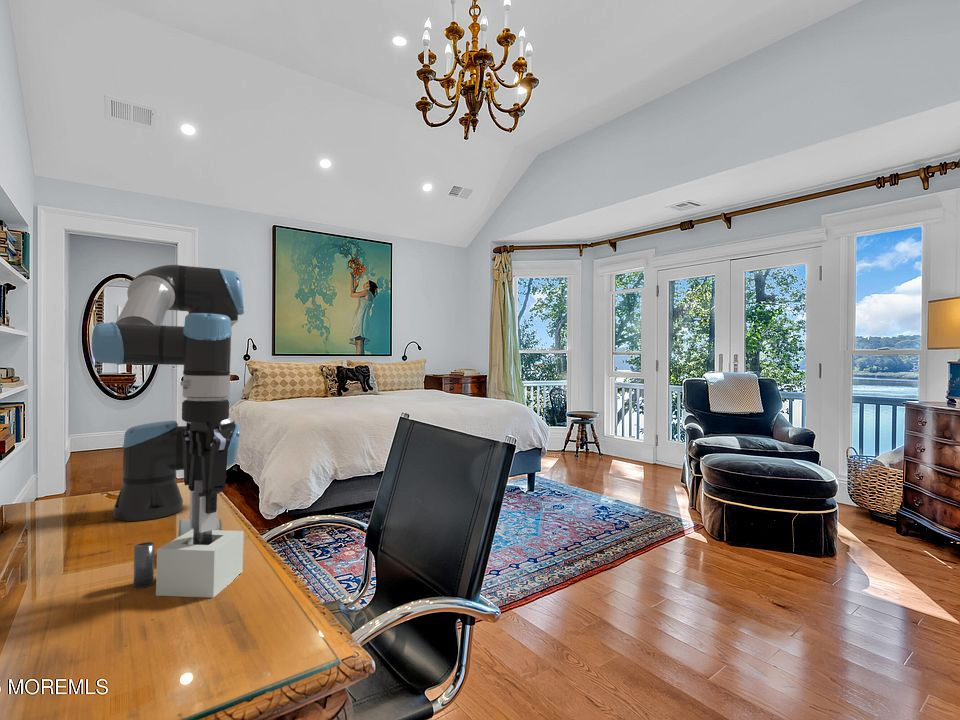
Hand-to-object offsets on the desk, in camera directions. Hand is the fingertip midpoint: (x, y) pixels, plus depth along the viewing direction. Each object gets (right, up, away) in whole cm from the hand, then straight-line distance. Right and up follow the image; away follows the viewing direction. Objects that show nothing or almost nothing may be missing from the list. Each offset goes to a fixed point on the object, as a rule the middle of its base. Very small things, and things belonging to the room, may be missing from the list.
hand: (203, 527), depth 90 cm
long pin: (0, -5, 0) cm, 5 cm away
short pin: (-10, -10, -1) cm, 14 cm away
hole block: (0, -10, 0) cm, 10 cm away
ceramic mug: (-9, -10, +14) cm, 20 cm away
